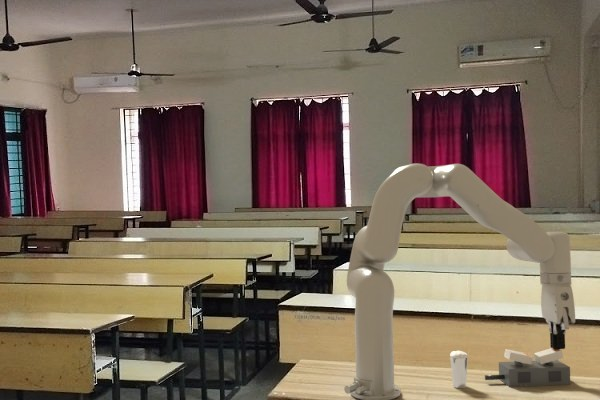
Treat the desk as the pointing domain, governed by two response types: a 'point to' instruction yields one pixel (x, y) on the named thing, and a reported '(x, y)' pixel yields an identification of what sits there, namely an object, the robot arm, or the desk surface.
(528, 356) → the rocker
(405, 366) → the desk surface
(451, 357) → the milkshake
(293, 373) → the desk surface
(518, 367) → the rocker switch panel
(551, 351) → the rocker
